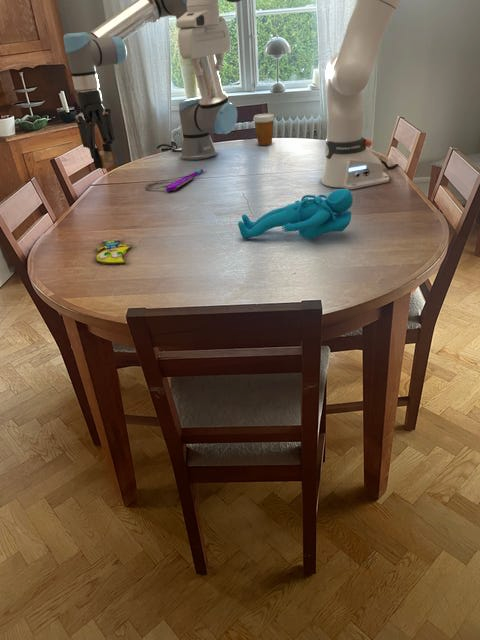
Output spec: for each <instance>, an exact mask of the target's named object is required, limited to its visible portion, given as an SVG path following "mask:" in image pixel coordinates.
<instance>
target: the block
mask: <svg viewBox="0 0 480 640" xmlns="http://www.w3.org/2000/svg"><path fill="white" fill-rule="evenodd" d="M99 154H100V159H101V163H102V168H101V169H102V170H103V169H104V170H106V169H108V168H112V167H114V166H115V163H114V158H113V151H112V152H108V151H104V150H99Z"/></svg>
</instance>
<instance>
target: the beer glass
mask: <svg viewBox="0 0 480 640" xmlns="http://www.w3.org/2000/svg"><path fill="white" fill-rule="evenodd" d="M252 120H253V123H254V129H255V134H256V140H257V144H258V145H259V146H269V145H271V144H273V143H272V142H273V135H274V123H275V115H274V114H273V113H258V114H255V115H254V116H253V119H252Z"/></svg>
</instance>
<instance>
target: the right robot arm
mask: <svg viewBox="0 0 480 640" xmlns="http://www.w3.org/2000/svg"><path fill="white" fill-rule="evenodd" d="M225 1H226V2H229V3H239V2H241V1H242V0H225ZM400 1H401V0H356V3H355V5H354V8H353V11H352V13H351V15H350V17H349V20H348V22H347V25H346V29H345V34H344V35H343V40H342V42H341V46H340V48H339V52H337V53H335V54H333V56H332V57H331V58H330V59H329V61H328V62H327V65H326V68H325V69H326V70H325V86H326V89H325V91H326V108H327V109H326V111H327V123H326V124H327V126H326V127H327V129H326V130H327V132H326V139H325V145H324V154H325V155H324V156H325V164H324V168H323V169H324V170H323V175H322V178H321V183H322V185H324V186H327V187H330V188H337V189H348V190H356V189H361V188H366V187H371V186H376V185H380V184H385V183H389V182H390V176H389V175H388V174H387V173H386V172H385V171H384V168H383V165H384V167H385V168H386V169H387V170H393V169H395V168H397V167H399V164H398V163H396V164H394V165H391V166H390V165H388V164H387V162H386V161H384V160H382V158H380V157H377V156H376V155H375V154H373V152H371V151H370V150H368V148H370V147H371V146H373V141H372V140H371V139H368V138H367V139H366V138H364V137H362V134H363V117H364V110H363V109H364V108H363V100H362V99H363V96H362V91H363V90H364V89H365V88H366V86H368V83H369V80H370V77H371V76H370V75H371V73H372V71H373V68H374V65H375V62H376V60H377V56H378V53H379V51H380V47H381V43H382V41H383V39H384V36H385V34H386V32H387V30H388V27H389V25H390V23H391V21H392V19H393V17H394V14H395V12H396V10H397V8H398V6H399V4H400ZM175 23H176V27H177V29H179V30H178V32H177V33H178V34H177V38H178V48H179V54H180V56H181V58H182V60H190V63H191V65H192V67H193V70H194V69H195V71H194V75H195V74H196V75H195V77H196V76H200V75H203V68H201V67H200V64H199V62H200V57H204V56H209V55H214V57H215V61H216V64H215V65H214V67H215V71H218V72H220V71H222V70H223V61H224V58H225V57H224V56H225V55H224V53H225V54H226V53H229V52H231V48H232V44H231V43H232V42H231V35H230V30H229V26H228V25H227V21H226V20H225V18H224V17H223V16H220V8H219V0H187V12H186V13H185V14H184V15H182V16H181V17H180V18H178V19H176V21H175Z"/></svg>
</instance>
